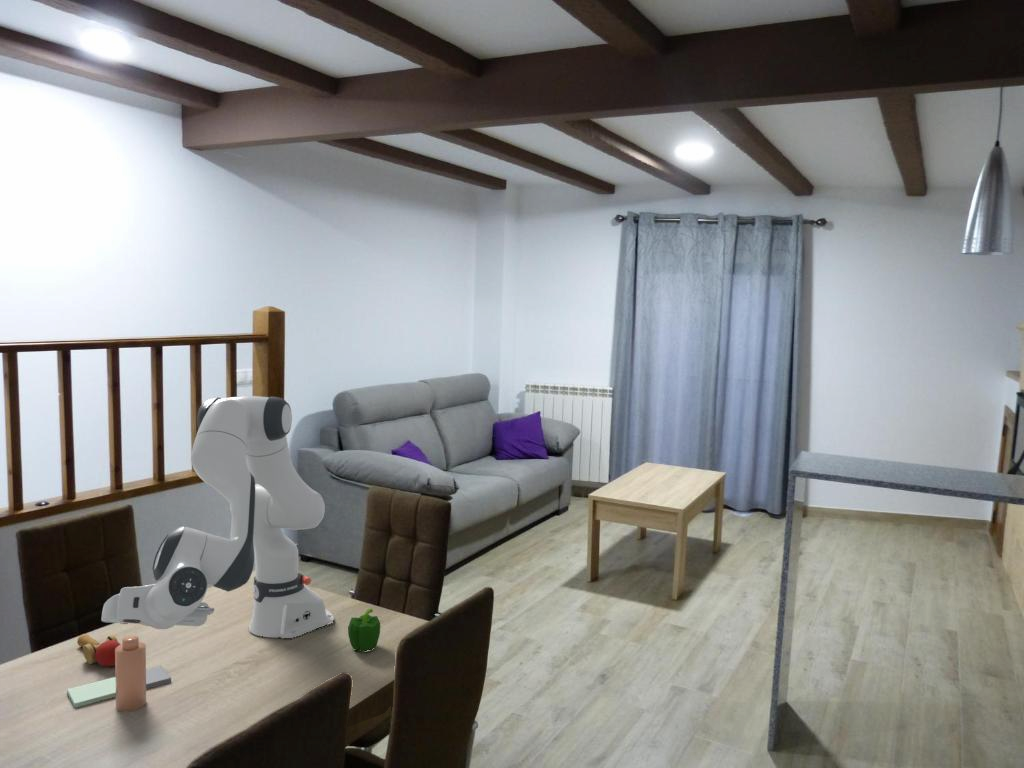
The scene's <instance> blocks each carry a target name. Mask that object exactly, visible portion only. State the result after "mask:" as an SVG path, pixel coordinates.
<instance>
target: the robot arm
mask: <svg viewBox="0 0 1024 768" xmlns="http://www.w3.org/2000/svg"><path fill="white" fill-rule="evenodd" d="M196 415H197V416H196V425H197V432H196V436H195V438H194V442H193V445H192V450H191V454H190V455H191V456H190V461H191V465H192V468H193V471H194V472H195V474H196V475H197V476H198V477H199V479H201V480H202V482H203V483H205V484H207V486H209V487H211V488H213V489H214V490H215V491H216V492H218V493H219V494H220V495H221V496H223V497H224V499H225V500H226V501H227V502H228V503H229V509H230V513H231V525H230V527H231V528H230V538H226V537H222V536H219V535H215V534H211V533H208V532H206V531H202V530H198V529H197V528H196V529H195V528H192V527H188V526H183V525H182V526H179V527H177V528H175V529H174V530H172V531H171V532H169V533H168V534H167V535H166V536H165V538H164V539H163V540H162V542H161V543H160V545H159V547H158V549H157V552H156V553H155V556H154V560H153V563H152V574H153V577H154V579H155V581H156V583H151V584H148V585H142V586H141V585H139V586H127V587H126V586H125V587H122V588H121V589H120V591H119V593H117V594H114V595H112V596H110V598H108V599H107V600H106V601H105V602H104V603H103V607H102V611H101V622H103V623H112V624H113V623H117V624H120V625H128V624H137V625H142V626H146V627H151V628H153V629H155V630H168V629H171V628H173V627H175V626H182V627H183V626H184V627H186V626H187V627H199V626H203V625H204V624H206V622H207V619H208V615H209V616H210V615H212V614H213V613H214V612H215V607H210V606H209V603H207V602H204V601H203V600H204V598H205V596H206V593H207V591H208V586H209V585H210V586H213V587H214V588H217V589H220V590H222V591H225V592H233V591H234V590H236V589H239V588H241V587H242V586H245V585H246V584H247V583H248V582H249V580H250V579H251V575H252V573H253V570H254V567H255V576H254V577H253V585H252V586H253V591H252V593H253V599H254V600H253V610H252V615H251V620H250V622H249V626H248V631H249V632H250V633H251V634H252V635H255V636H258V637H262V636H263V637H262V638H278V637H281V639H284V638H292V637H295V636H298V635H300V636H302V635H301V634H303V633H305V632H308V633H310V632H309V631H311V630H313V629H315V628H319V627H321V626H323V625H326V624H328V623H330V622H333V620H334V621H335V618H334V615H333V614H332V612H331V611H329V610H328V609H326V605H325V602H324V599H323V598H322V597H321V595H319V594H318V593H317V592H315V591H313V590H312V589H311V588H309V587H307V586H309V585H311V583H312V578H311V577H308V576H307V575H304V574H302V573H299V549H298V547H297V545H296V543H295V542H294V541H293V540H292V539H291V538H289V537H288V536H287V535H286V534H285V533H284V532H283V529H287V530H299V531H300V530H309V529H314V528H317V526H318V525H320V524H321V522H322V520H323V518H324V515H325V512H326V511H325V510H326V506H325V505H326V504H325V502H324V499H323V496H322V495H321V494H320V493H319V492H317V491H316V490H314V489H313V488H312V487H310V486H309V485H308V484H307V483H306V482H305V481H304V480H303V479H302V477H301V476H300V474H299V473H298V472H297V470H296V468H295V467H294V464H293V462H292V458H291V453H290V448H289V444H288V439H287V435H288V434H289V433H290V430H291V428H292V422H293V413H292V408H291V405H290V404H289V403H288V402H287V401H286V400H285V399H284V398H283V397H278V396H272V395H271V396H269V397H268V396H260V395H243V396H231V397H222V398H221V397H213V398H210V399H207V400H206V401H204V402H203V403H202V404H201V405H200V407H198V411H197V414H196ZM254 565H255V566H254ZM329 617H330V618H329ZM319 629H320V628H319ZM311 632H312V631H311ZM303 635H304V634H303ZM298 637H299V636H298ZM295 638H296V637H295ZM292 639H293V638H292Z"/></svg>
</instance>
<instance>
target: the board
mask: <svg viewBox="0 0 1024 768" xmlns="http://www.w3.org/2000/svg"><path fill="white" fill-rule="evenodd" d="M171 682H172V677H171V676H170V674H169V673H168V672H167V671H166V669H165V668H164V667H163V666H162V665H161V664H160V665H157V666H152V667H150V668H146V689H149V688H152V687H153V688H154V687H158V686H161V685H163V684H168V683H171ZM66 694H67V696H68V698H69V700H70V699H71V700H70V701H72V702H71V704H72V705H73V707H74V709H75V708H79V707H83V706H87V705H90V704H94V702H95V703H97V701H98V702H101V701H100V700H102V701H104V700H105V699H106V700H109V699H112V697H113V698H116V676H114V677H110V678H107V679H102V680H98V681H94V682H91V683H87V684H86V683H85V684H82V685H79V686H74V687H70V688H67V689H66ZM108 698H109V699H108Z"/></svg>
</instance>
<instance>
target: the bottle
mask: <svg viewBox="0 0 1024 768" xmlns="http://www.w3.org/2000/svg"><path fill="white" fill-rule="evenodd" d="M121 641H122V642H121V643H120V644H121V645H119V646H118V647H116V649H115V665H114V666H115V672H114V673H115V677H116V697H115V709H116V708H117V709H118V711H119V710H120V711H121V712H125V711H127V712H134V711H137V710H139V709H142V708H143V707H144V706H145V705H146V704H147V688H146V669H147V646H146V643H145V642H141V641H139V636H137V635H129V636H125V637H123V638H122V639H121ZM117 709H116V710H117ZM120 711H119V712H120Z"/></svg>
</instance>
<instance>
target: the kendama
mask: <svg viewBox="0 0 1024 768" xmlns="http://www.w3.org/2000/svg"><path fill="white" fill-rule="evenodd" d="M121 644H122V643H120V642H119V641H118V639H117V638H116V636H115V635H114V634H111V635H108V636H107V638H106V639H105V640H104V641H103V642H99V641H97V640H96V639H95V638H93V637H92V636H90V635H89V634H88V633H87V634H86V633H83V634H80V635H79V636H78V638H77V645H78V646H79V647H82V654H83V656H84V659H85V661H86V662H87V664H89V665H93V664H94V663H96V662H97V663H98V664H99V665H100V666H101V667H102V666H103V667H106V668H107V667H109V668H110V667H113V666H115V649H116V647H118V646H119V645H121Z"/></svg>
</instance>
